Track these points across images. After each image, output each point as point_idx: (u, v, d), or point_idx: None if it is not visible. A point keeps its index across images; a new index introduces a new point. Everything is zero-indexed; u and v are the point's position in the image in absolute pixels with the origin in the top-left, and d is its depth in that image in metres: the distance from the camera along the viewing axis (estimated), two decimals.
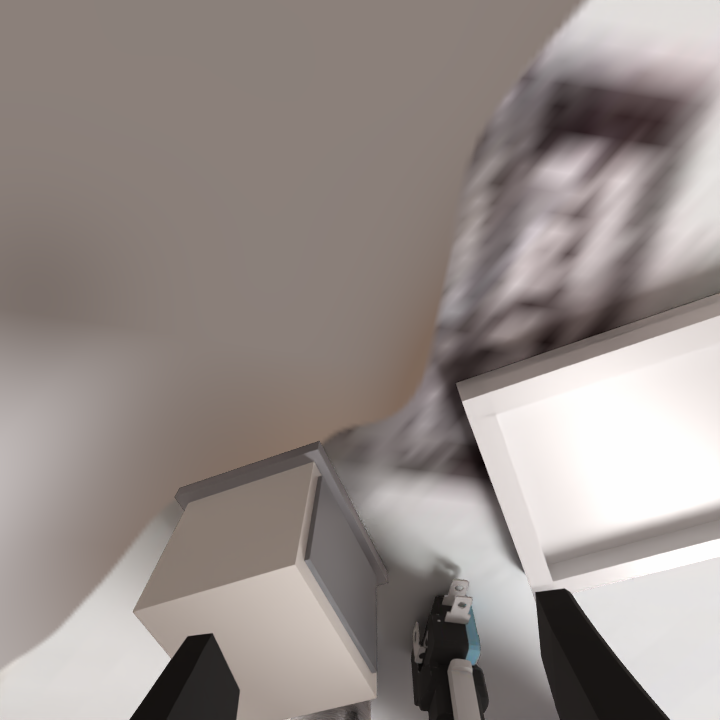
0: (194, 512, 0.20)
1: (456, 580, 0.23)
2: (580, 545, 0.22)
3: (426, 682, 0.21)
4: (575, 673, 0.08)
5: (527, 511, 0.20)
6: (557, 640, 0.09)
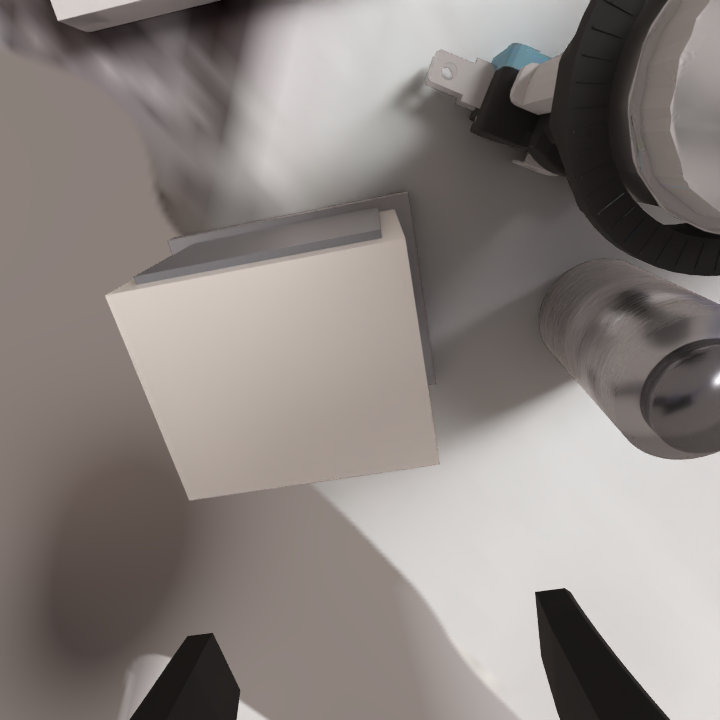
0: None
1: (427, 77, 0.14)
2: None
3: (540, 156, 0.12)
4: (575, 673, 0.08)
5: None
6: (557, 640, 0.09)
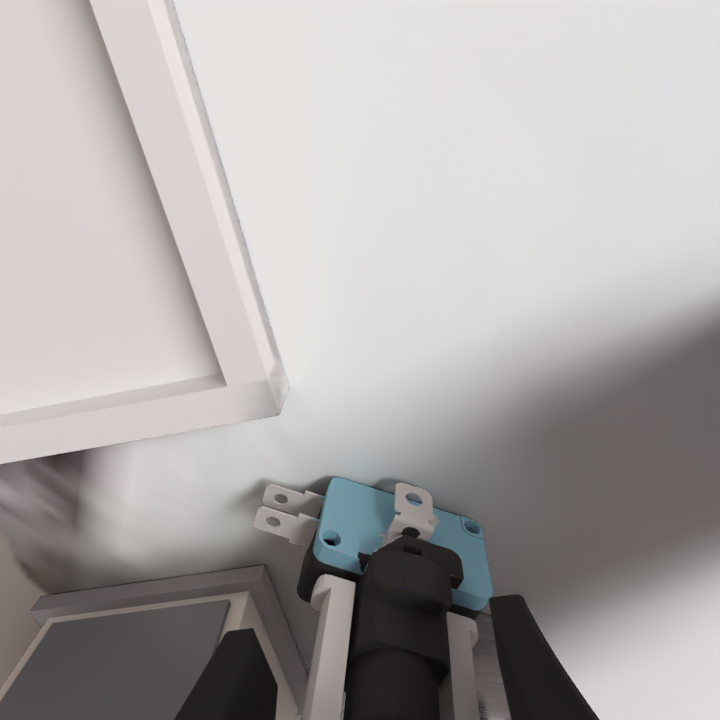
0: None
1: (263, 499, 0.14)
2: (191, 313, 0.12)
3: None
4: (517, 679, 0.08)
5: (68, 417, 0.12)
6: (504, 646, 0.09)
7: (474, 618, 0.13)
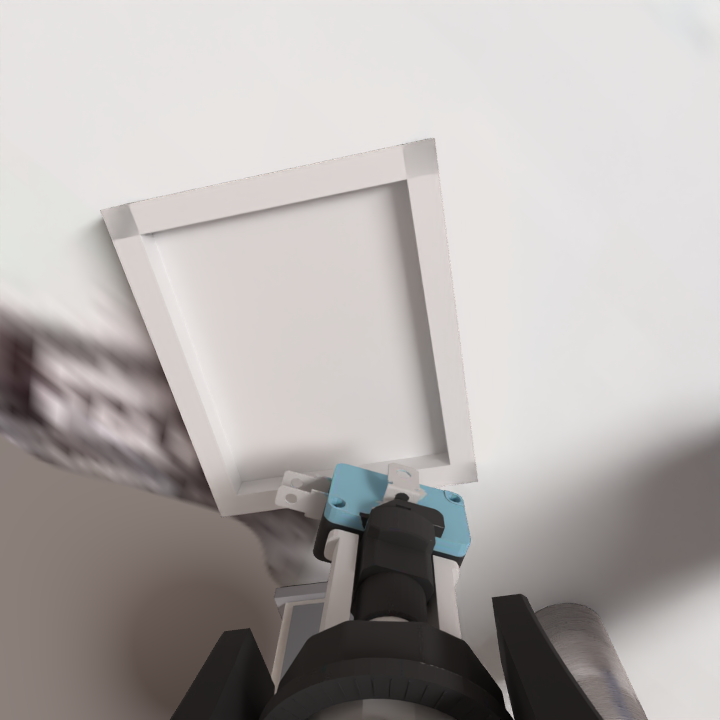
0: None
1: (282, 484, 0.17)
2: (426, 420, 0.20)
3: None
4: (521, 679, 0.08)
5: None
6: (507, 646, 0.09)
7: (458, 564, 0.15)
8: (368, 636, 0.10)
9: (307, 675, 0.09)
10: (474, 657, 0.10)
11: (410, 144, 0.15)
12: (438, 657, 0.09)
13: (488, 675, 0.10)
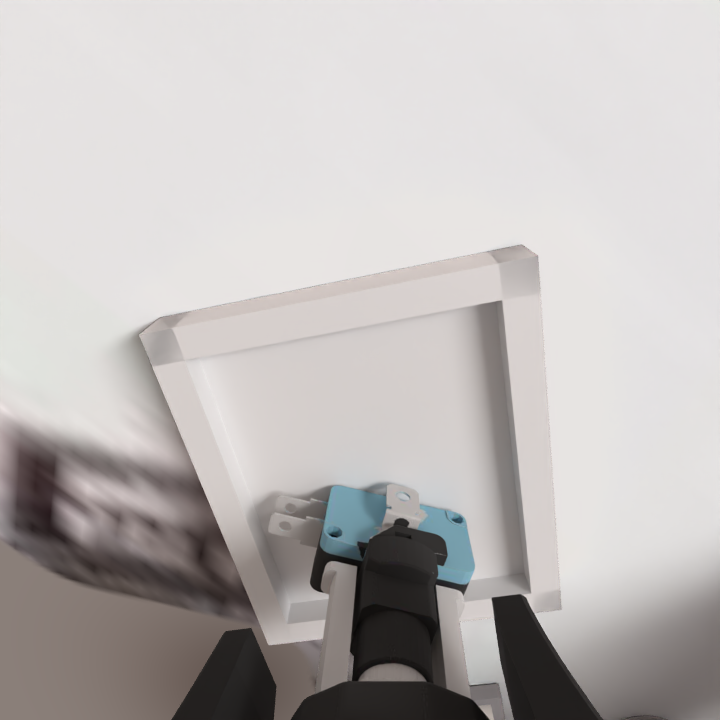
0: None
1: (276, 509, 0.17)
2: (502, 541, 0.18)
3: None
4: (520, 679, 0.08)
5: None
6: (506, 646, 0.09)
7: (462, 592, 0.15)
8: (368, 701, 0.09)
9: None
10: (484, 717, 0.09)
11: (508, 262, 0.13)
12: None
13: None
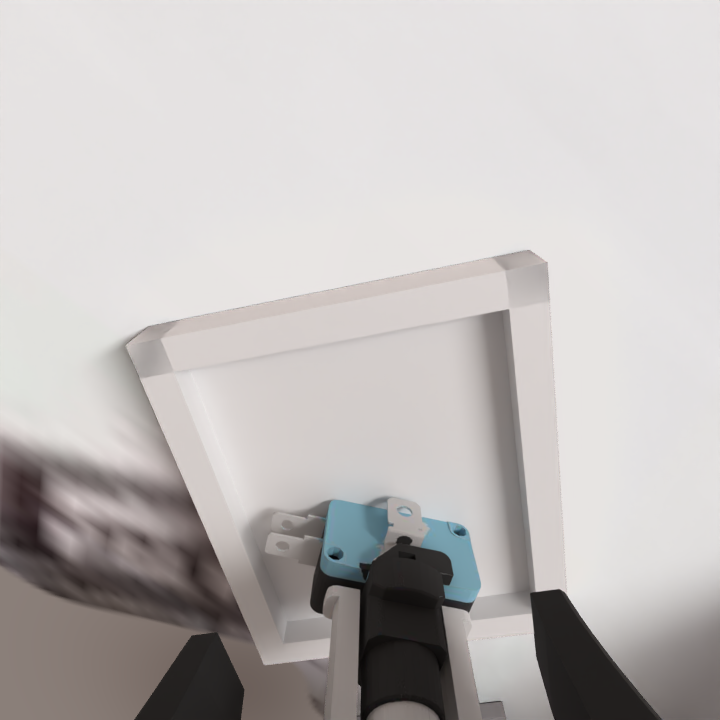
0: None
1: (272, 527, 0.16)
2: (507, 558, 0.17)
3: None
4: (569, 674, 0.08)
5: None
6: (551, 641, 0.09)
7: (468, 610, 0.14)
8: None
9: None
10: None
11: (516, 269, 0.12)
12: None
13: None
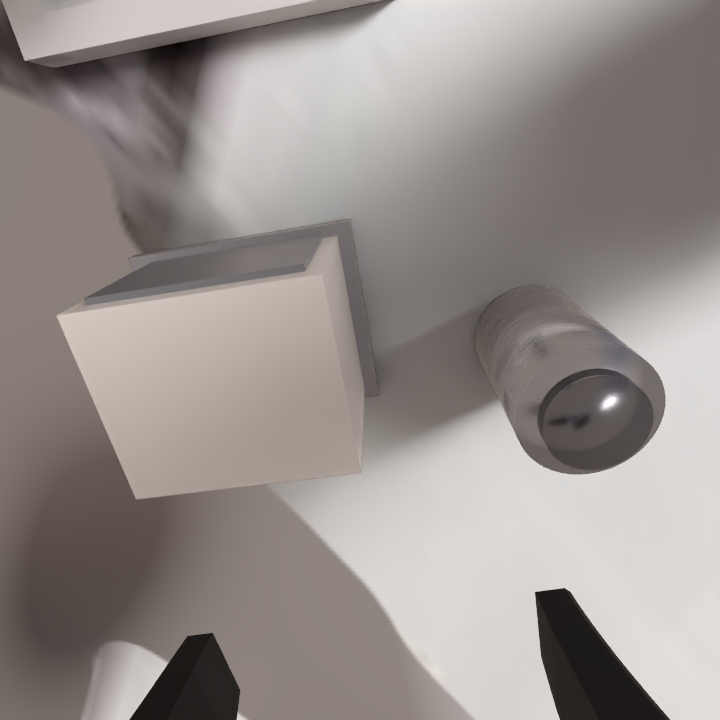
0: None
1: None
2: None
3: None
4: (575, 673, 0.08)
5: None
6: (557, 640, 0.09)
7: None
8: None
9: None
10: None
11: None
12: None
13: None
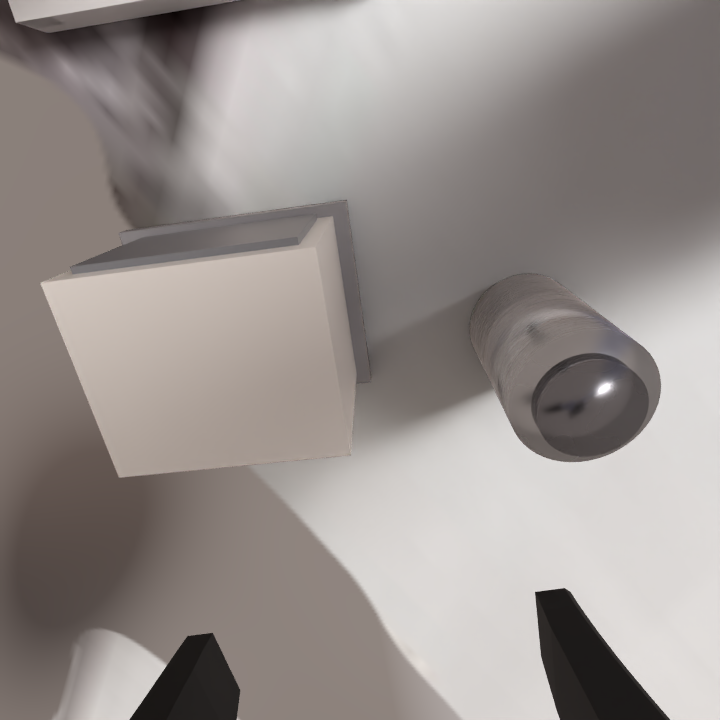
0: None
1: None
2: None
3: None
4: (575, 673, 0.08)
5: None
6: (557, 640, 0.09)
7: None
8: None
9: None
10: None
11: None
12: None
13: None
